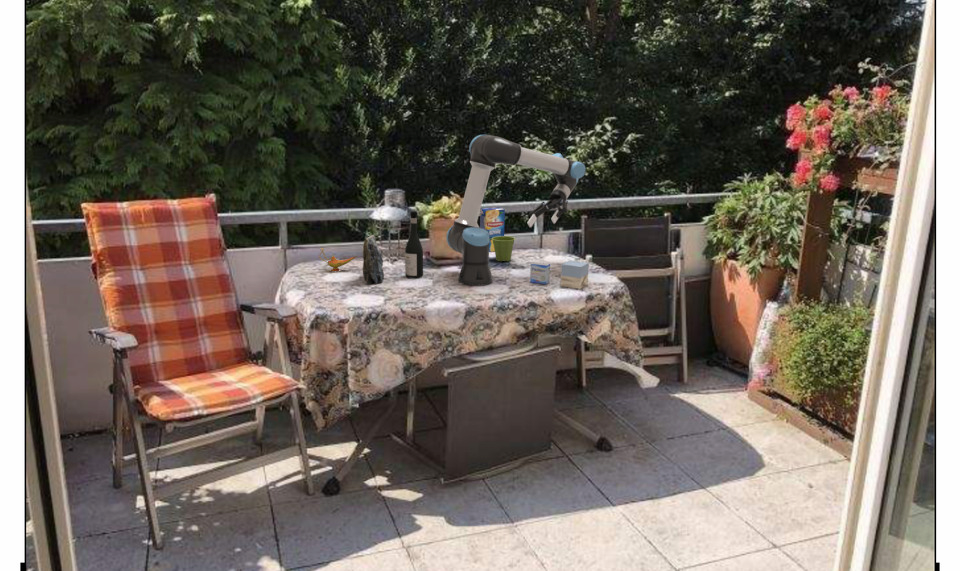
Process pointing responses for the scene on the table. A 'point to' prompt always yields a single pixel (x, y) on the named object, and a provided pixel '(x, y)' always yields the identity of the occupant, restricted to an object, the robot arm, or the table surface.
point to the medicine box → (540, 273)
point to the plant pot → (503, 247)
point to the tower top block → (575, 269)
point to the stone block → (372, 261)
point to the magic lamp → (336, 261)
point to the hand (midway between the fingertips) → (540, 223)
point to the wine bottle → (414, 251)
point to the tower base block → (574, 281)
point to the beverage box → (493, 223)
